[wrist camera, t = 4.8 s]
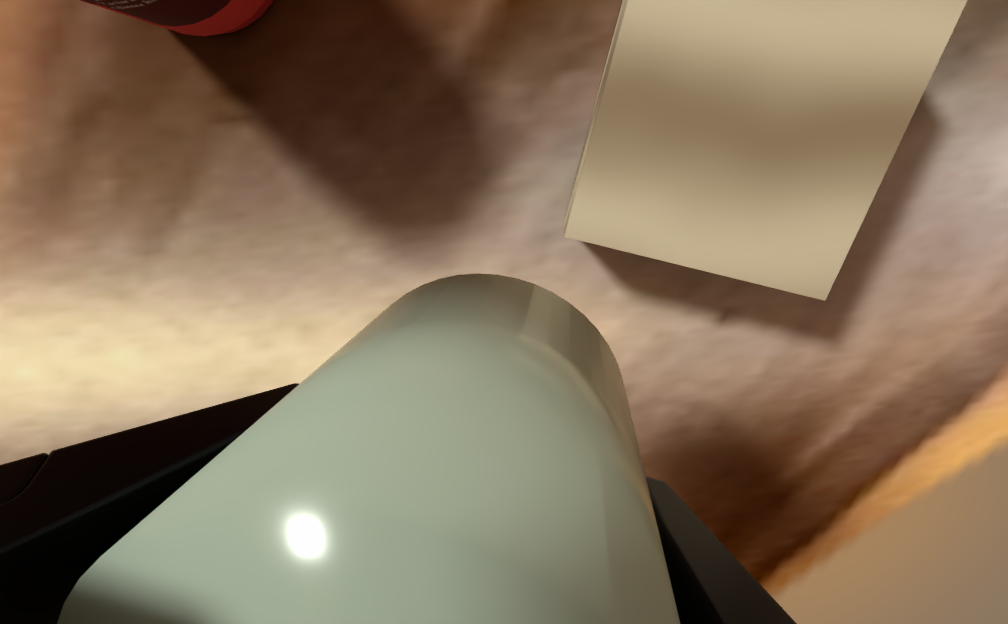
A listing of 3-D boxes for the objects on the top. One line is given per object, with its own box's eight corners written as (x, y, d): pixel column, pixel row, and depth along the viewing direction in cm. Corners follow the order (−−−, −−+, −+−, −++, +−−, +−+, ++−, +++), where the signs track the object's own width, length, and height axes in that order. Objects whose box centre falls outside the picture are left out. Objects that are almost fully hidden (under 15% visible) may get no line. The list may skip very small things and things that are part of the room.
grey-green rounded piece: (582, 546, 10) (598, 1023, 5) (341, 479, 11) (82, 855, 5) (665, 315, 8) (862, 647, 3) (370, 242, 9) (7, 409, 3)
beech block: (774, 273, 20) (824, 300, 16) (563, 222, 20) (564, 236, 16) (877, 33, 17) (969, -4, 13) (628, -22, 17) (648, -74, 13)
